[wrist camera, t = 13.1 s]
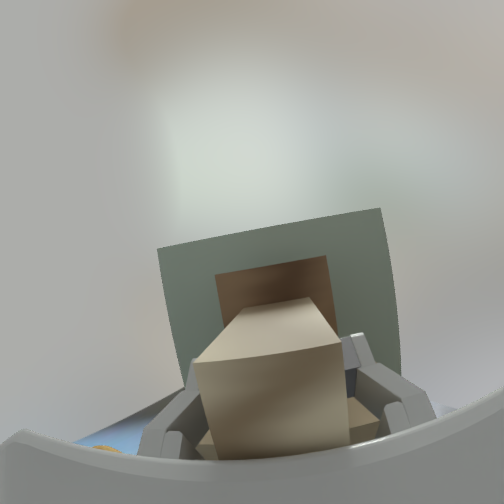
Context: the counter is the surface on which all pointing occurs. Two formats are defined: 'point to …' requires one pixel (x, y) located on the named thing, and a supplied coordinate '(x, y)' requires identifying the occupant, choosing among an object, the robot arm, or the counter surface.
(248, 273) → the walnut handle block
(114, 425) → the counter surface
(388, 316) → the large sage green box
